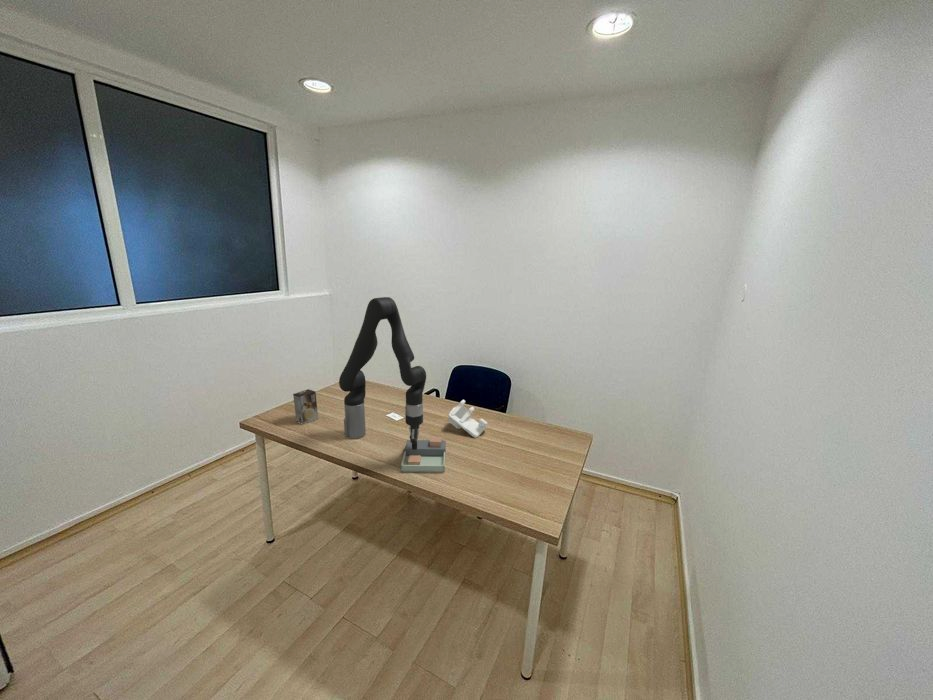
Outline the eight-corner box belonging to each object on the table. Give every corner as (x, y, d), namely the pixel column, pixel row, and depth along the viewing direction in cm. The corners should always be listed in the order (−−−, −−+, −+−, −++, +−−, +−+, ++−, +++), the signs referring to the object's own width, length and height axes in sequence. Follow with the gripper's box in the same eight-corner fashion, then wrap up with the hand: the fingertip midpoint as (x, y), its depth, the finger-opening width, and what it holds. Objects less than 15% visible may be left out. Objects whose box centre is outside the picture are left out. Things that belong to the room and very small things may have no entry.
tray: (400, 472, 146) (400, 465, 145) (404, 457, 156) (404, 451, 156) (444, 472, 146) (444, 466, 146) (445, 457, 157) (445, 451, 156)
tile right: (429, 446, 158) (429, 441, 158) (430, 441, 163) (430, 436, 162) (441, 447, 158) (441, 442, 158) (441, 441, 163) (441, 436, 163)
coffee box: (311, 416, 194) (308, 388, 190) (318, 419, 191) (316, 391, 187) (295, 422, 186) (292, 393, 183) (303, 425, 183) (300, 396, 179)
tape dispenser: (480, 436, 187) (491, 419, 182) (470, 446, 177) (482, 428, 172) (451, 413, 192) (461, 396, 187) (440, 421, 183) (451, 403, 177)
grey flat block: (404, 456, 157) (404, 448, 156) (407, 447, 165) (407, 439, 164) (445, 457, 158) (445, 449, 157) (445, 448, 165) (445, 440, 164)
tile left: (409, 455, 152) (409, 460, 153) (407, 461, 148) (408, 467, 148) (420, 455, 153) (420, 460, 153) (419, 461, 148) (419, 467, 149)
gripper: (407, 405, 156) (407, 441, 161) (403, 418, 144) (403, 456, 148) (424, 406, 157) (424, 441, 161) (421, 419, 144) (421, 457, 148)
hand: (414, 448), depth 154 cm, fingers closed
